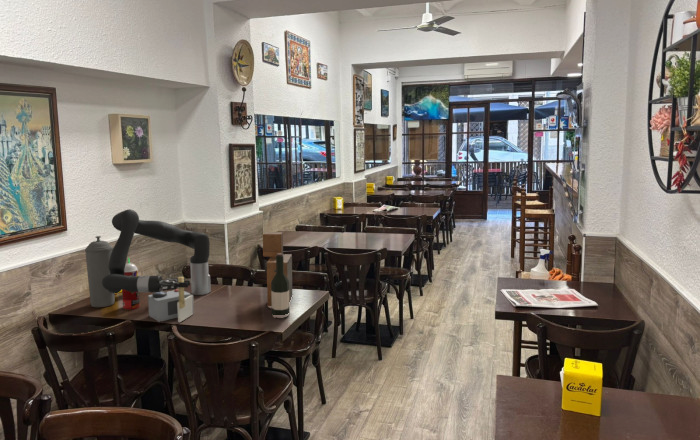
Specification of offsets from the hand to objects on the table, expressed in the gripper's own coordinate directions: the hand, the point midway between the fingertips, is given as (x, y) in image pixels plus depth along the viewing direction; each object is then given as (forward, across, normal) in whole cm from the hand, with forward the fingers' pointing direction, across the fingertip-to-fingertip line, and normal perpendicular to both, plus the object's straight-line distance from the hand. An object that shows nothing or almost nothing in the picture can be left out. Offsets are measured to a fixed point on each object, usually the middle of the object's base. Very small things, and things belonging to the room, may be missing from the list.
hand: (188, 283), depth 235 cm
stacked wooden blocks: (+37, +30, +18) cm, 51 cm away
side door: (-2, +5, +18) cm, 18 cm away
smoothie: (-43, +44, +18) cm, 64 cm away
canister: (-51, +27, +18) cm, 60 cm away
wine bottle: (+40, +8, +18) cm, 45 cm away
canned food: (-35, +22, +18) cm, 45 cm away
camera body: (-12, +10, +18) cm, 24 cm away
